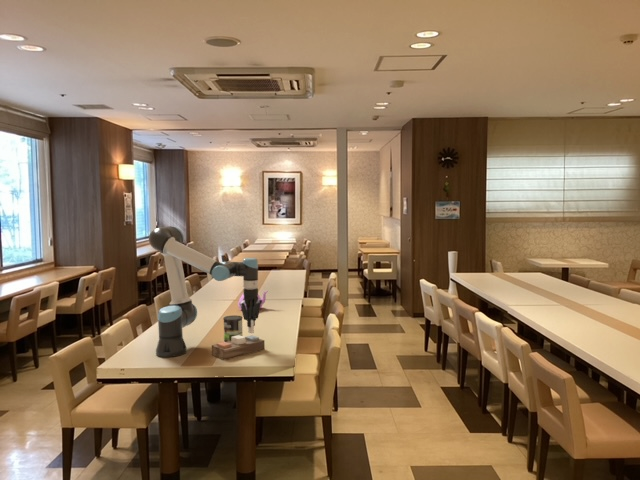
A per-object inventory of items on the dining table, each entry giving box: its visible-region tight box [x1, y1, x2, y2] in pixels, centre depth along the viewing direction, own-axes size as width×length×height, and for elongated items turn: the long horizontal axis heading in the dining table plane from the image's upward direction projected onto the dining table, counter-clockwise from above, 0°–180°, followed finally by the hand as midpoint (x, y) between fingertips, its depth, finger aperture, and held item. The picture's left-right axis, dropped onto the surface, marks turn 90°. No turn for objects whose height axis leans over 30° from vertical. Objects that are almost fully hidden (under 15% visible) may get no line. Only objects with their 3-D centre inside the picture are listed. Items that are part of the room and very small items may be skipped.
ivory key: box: [231, 335, 246, 345], centre depth 257 cm, size 6×4×3 cm
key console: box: [211, 338, 266, 361], centre depth 257 cm, size 12×24×5 cm, turn 133°
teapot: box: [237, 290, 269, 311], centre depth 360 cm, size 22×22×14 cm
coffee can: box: [223, 315, 244, 342], centre depth 274 cm, size 10×10×14 cm
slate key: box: [244, 334, 260, 342], centre depth 262 cm, size 6×4×3 cm
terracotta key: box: [216, 341, 231, 349], centre depth 251 cm, size 6×4×3 cm
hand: (251, 332), depth 262 cm, fingers closed
